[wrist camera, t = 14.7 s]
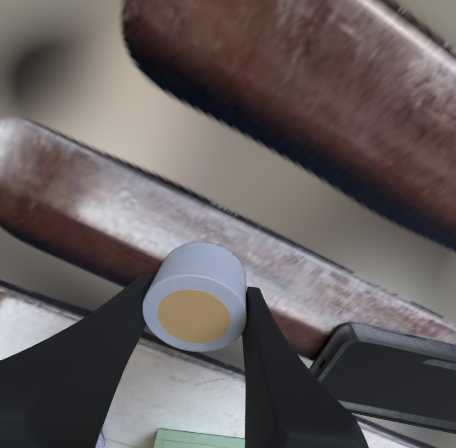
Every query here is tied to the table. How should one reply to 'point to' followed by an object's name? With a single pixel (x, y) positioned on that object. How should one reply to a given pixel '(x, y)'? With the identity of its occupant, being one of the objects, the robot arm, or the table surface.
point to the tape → (198, 298)
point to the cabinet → (194, 440)
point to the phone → (390, 376)
